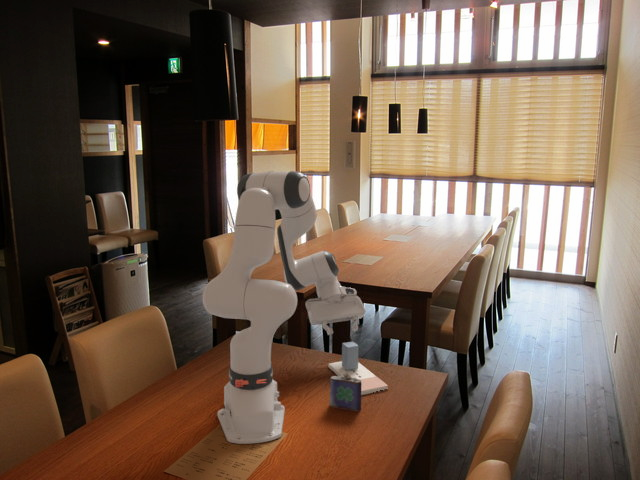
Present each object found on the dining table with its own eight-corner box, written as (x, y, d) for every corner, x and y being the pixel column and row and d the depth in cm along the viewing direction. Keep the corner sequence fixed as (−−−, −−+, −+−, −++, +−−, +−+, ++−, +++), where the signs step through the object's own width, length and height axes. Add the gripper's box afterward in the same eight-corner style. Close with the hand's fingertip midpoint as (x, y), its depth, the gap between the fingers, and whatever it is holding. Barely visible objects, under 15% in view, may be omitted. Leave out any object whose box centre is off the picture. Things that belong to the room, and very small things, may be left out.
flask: (328, 407, 155) (329, 372, 153) (331, 402, 157) (332, 368, 155) (360, 412, 152) (361, 377, 150) (362, 407, 155) (363, 372, 153)
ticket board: (387, 389, 166) (388, 385, 165) (359, 395, 162) (359, 391, 161) (354, 362, 185) (354, 358, 185) (328, 366, 181) (328, 363, 181)
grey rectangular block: (358, 368, 177) (358, 345, 175) (347, 370, 175) (347, 347, 173) (352, 363, 180) (352, 341, 179) (341, 365, 178) (342, 343, 177)
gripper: (306, 295, 180) (318, 332, 174) (359, 288, 189) (372, 324, 182) (301, 304, 185) (312, 340, 178) (353, 297, 194) (366, 332, 187)
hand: (343, 332), depth 180 cm, fingers open, 8 cm apart
